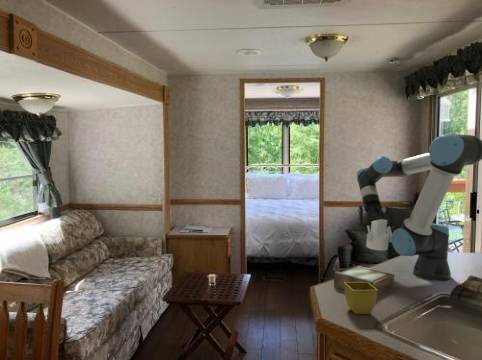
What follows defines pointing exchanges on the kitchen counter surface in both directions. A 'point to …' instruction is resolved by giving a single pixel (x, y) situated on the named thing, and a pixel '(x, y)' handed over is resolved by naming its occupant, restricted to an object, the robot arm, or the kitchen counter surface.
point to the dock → (365, 278)
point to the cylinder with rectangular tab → (378, 235)
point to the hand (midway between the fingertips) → (380, 240)
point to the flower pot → (360, 296)
